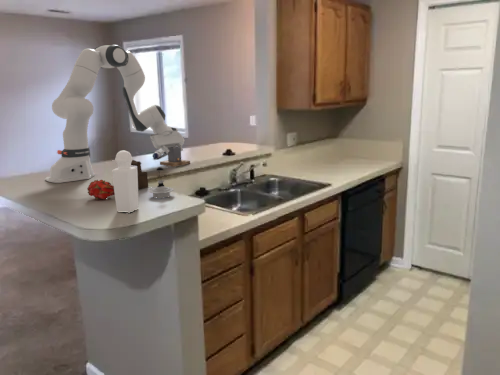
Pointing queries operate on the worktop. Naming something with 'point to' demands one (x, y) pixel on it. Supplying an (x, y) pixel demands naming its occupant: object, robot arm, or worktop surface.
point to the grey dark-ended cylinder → (158, 153)
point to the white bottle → (125, 182)
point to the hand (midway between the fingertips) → (175, 151)
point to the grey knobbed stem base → (161, 188)
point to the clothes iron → (141, 175)
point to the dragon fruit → (100, 189)
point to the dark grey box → (174, 154)
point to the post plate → (175, 162)
